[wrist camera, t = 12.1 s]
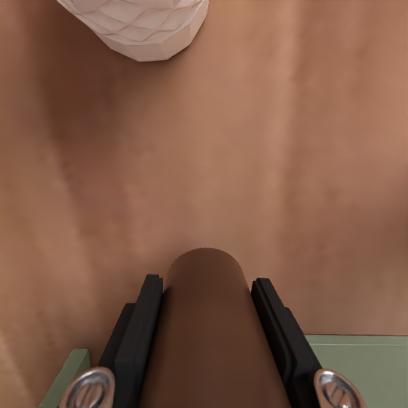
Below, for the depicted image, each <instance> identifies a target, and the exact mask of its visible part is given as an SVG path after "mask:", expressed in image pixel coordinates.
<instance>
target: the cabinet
mask: <svg viewBox="0 0 408 408" xmlns="http://www.w3.org/2000/svg"><path fill="white" fill-rule="evenodd" d="M304 336H305V337H306V339H307V341H308V343H309V344H310V346H311V348H312V350H313V352H314V353H315V355H316V357H317V359H318V360H319V362H320V364H321V366H322V368H325V369H331V370H334V371H337V372H338V373H340V374H342V375H343V376H345V377H346V378H347V379H348V380H349V381H351V382H352V383H353V384H354V386H355V387H356V388H357V389H358V390H359V392H360V394H361V395H362V397H363V399H364V401H365V403H366V405H367V407H368V408H408V336H360V335H304Z"/></svg>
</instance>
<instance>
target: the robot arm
mask: <svg viewBox="0 0 408 408" xmlns="http://www.w3.org/2000/svg"><path fill="white" fill-rule="evenodd" d="M162 296H163V278H159V275H153V274H147V276H146V278H145V281H144V284H143V286H142V289H141V291H140V294H139V297H138V299H137V302H136V303H126V304H125V306H124V308H123V310H122V312H121V315H120V317H119V319H118V321H117V324H116V326H115V328H114V330H113V333H112V335H111V337H110V339H109V342H108V344H107V346H106V348H105V350H104V353H103V355H102V357H101V359H100V362H99V364H98V366H97V367H93V368H91V369H88V370H86V371H84V372H83V373H81V374H80V375H78V376H77V377H76V378H75V379H74V380H73V381H72V382H71V383H70V385H69V386H68V388H67V389H66V390H65V392H64V395H63V397H62V399H61V402H60V405H59V406H58V407H56V408H137V406H138V402H139V398H140V393H141V389H142V384H143V380H144V376H145V371H146V367H147V362H148V358H149V353H150V349H151V345H152V340H153V336H154V331H155V327H156V322H157V318H158V314H159V309H160V305H161V300H162ZM251 296H252V299H253V302H254V305H255V307H256V310H257V313H258V316H259V318H260V321H261V324H262V327H263V329H264V332H265V335H266V338H267V341H268V343H269V346H270V349H271V352H272V354H273V357H274V360H275V363H276V365H277V368H278V371H279V374H280V377H281V379H282V382H283V385H284V388H285V390H286V393H287V396H288V399H289V401H290V404H291V407H292V408H368V407H367V405H366V403H365V401H364V399H363V397H362V395H361V394H360V392H359V390H358V389H357V388H356V387H355V386H354V384H353V383H352V382H351V381H349V380H348V379H347V378H346V377H345V376H343V375H342V374H340V373H338V372H337V371H334V370H331V369H325V368H322V366H321V364H320V362H319V360H318V359H317V357H316V355H315V353H314V352H313V350H312V348H311V346H310V344H309V343H308V341H307V339H306V337H305V336H304V334H303V332H302V330H301V328H300V327H299V325H298V323H297V321H296V320H295V318H294V316H293V314H292V312H291V311H290V309H289V308H287V307H284V305H283V303H282V302H281V300H280V298H279V296H278V294H277V292H276V290H275V289H274V287H273V285H272V283H271V281H270V279H268V278H257V279H256V281H253V284H252V290H251Z"/></svg>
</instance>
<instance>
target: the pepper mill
mask: <svg viewBox="0 0 408 408" xmlns="http://www.w3.org/2000/svg"><path fill="white" fill-rule="evenodd" d="M137 408H292V407H291V404H290V401H289V399H288V396H287V393H286V390H285V388H284V385H283V382H282V379H281V377H280V374H279V371H278V368H277V365H276V363H275V360H274V357H273V354H272V352H271V349H270V346H269V343H268V341H267V338H266V335H265V332H264V329H263V327H262V324H261V321H260V318H259V316H258V313H257V310H256V307H255V305H254V302H253V299H252V296H251V293H250V291H249V288H248V285H247V282H246V280H245V277H244V274H243V271H242V269H241V267H240V265H239V263H238V262H237V261H236V260H235V259H234V258H233V257H232V256H231V255H229V254H228V253H226V252H224V251H221V250H218V249H214V248H199V249H194V250H191V251H189V252H186V253H185V254H183V255H181V256H180V257H179V258H178V259H176V260H175V261H174V263H173V264H172V265H171V267H170V269H169V271H168V274H167V278H166V283H165V287H164V291H163V296H162V300H161V305H160V309H159V314H158V318H157V322H156V327H155V331H154V336H153V340H152V345H151V349H150V353H149V358H148V362H147V367H146V371H145V376H144V380H143V384H142V389H141V393H140V398H139V402H138V406H137Z"/></svg>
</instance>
